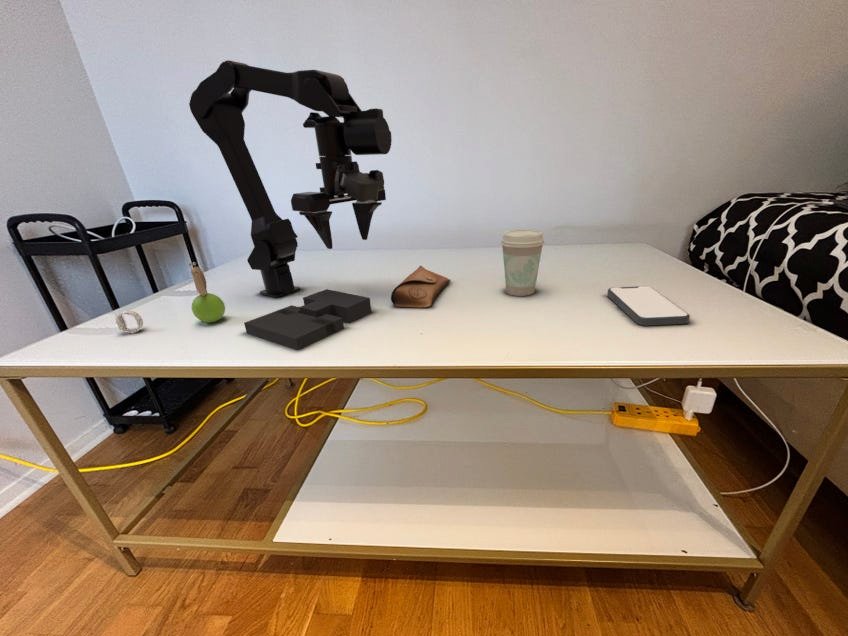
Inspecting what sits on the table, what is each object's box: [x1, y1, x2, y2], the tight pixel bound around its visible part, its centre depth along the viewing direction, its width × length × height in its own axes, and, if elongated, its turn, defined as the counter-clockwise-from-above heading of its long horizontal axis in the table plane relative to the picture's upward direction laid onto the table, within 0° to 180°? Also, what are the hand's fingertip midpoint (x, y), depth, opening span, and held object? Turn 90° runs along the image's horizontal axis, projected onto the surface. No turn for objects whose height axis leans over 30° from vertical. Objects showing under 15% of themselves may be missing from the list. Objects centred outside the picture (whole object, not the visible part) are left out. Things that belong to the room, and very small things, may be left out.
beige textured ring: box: [114, 309, 144, 334], centre depth 74 cm, size 4×2×4 cm, turn 104°
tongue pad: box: [299, 288, 373, 324], centre depth 78 cm, size 12×10×3 cm
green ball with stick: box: [187, 261, 226, 323], centre depth 75 cm, size 5×6×12 cm
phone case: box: [606, 285, 691, 327], centre depth 74 cm, size 9×2×16 cm
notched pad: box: [243, 305, 345, 351], centre depth 72 cm, size 14×10×2 cm
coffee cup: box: [500, 229, 545, 297], centre depth 83 cm, size 9×9×12 cm
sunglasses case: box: [390, 265, 451, 309], centre depth 87 cm, size 18×7×7 cm
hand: (348, 244), depth 81 cm, fingers open, 9 cm apart
